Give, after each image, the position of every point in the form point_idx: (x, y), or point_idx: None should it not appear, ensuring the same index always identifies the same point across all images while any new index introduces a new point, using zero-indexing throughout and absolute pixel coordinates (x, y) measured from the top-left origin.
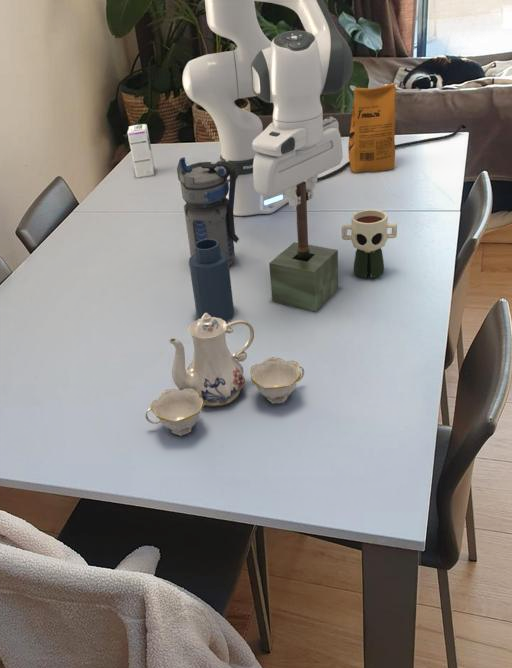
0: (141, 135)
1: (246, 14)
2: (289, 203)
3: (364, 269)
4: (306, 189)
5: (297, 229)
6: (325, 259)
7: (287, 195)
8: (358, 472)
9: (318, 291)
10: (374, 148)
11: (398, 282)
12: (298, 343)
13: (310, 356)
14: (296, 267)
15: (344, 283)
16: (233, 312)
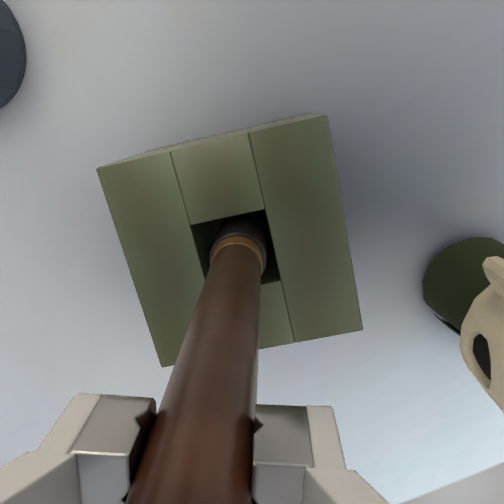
0: None
1: None
2: (74, 403)
3: (436, 308)
4: (305, 500)
5: (202, 292)
6: (265, 342)
7: (1, 474)
8: None
9: None
10: None
11: (454, 373)
12: (51, 354)
13: (36, 407)
14: (144, 293)
15: (372, 259)
16: (6, 100)
